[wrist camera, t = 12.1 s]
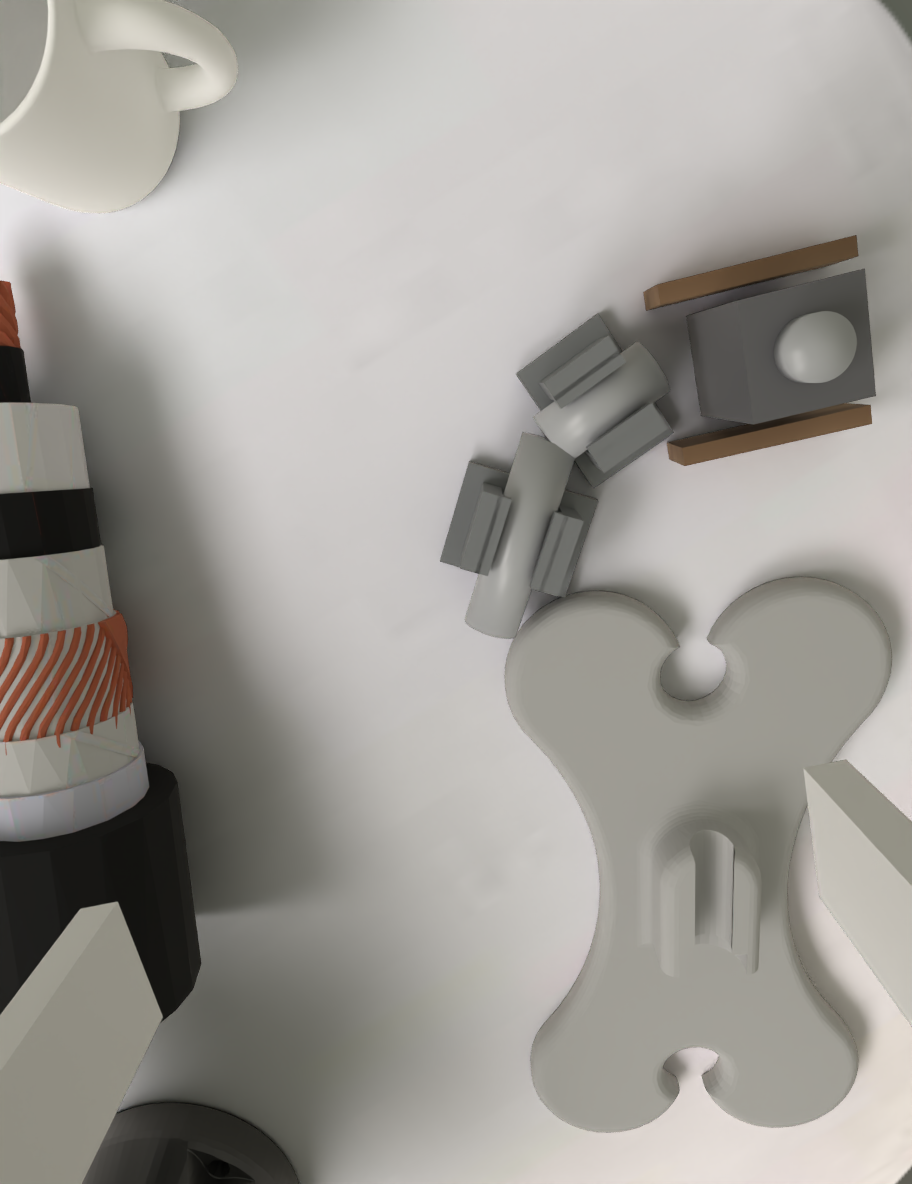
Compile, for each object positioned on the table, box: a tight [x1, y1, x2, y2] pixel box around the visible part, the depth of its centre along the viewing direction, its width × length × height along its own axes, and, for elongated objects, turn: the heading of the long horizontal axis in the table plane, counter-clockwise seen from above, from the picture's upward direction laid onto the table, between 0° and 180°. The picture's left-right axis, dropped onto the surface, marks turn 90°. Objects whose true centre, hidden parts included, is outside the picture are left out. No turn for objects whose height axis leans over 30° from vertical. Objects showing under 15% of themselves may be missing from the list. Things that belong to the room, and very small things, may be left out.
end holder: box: [643, 235, 872, 466], centre depth 33 cm, size 8×8×3 cm
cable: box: [0, 281, 201, 1023], centre depth 35 cm, size 10×34×10 cm, turn 4°
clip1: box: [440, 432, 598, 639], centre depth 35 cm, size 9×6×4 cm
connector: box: [686, 269, 876, 425], centre depth 30 cm, size 4×4×8 cm
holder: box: [505, 577, 892, 1133], centre depth 40 cm, size 19×34×5 cm, turn 5°
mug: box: [0, 0, 238, 214], centre depth 27 cm, size 12×8×10 cm
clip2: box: [516, 314, 674, 488], centre depth 33 cm, size 5×6×4 cm
